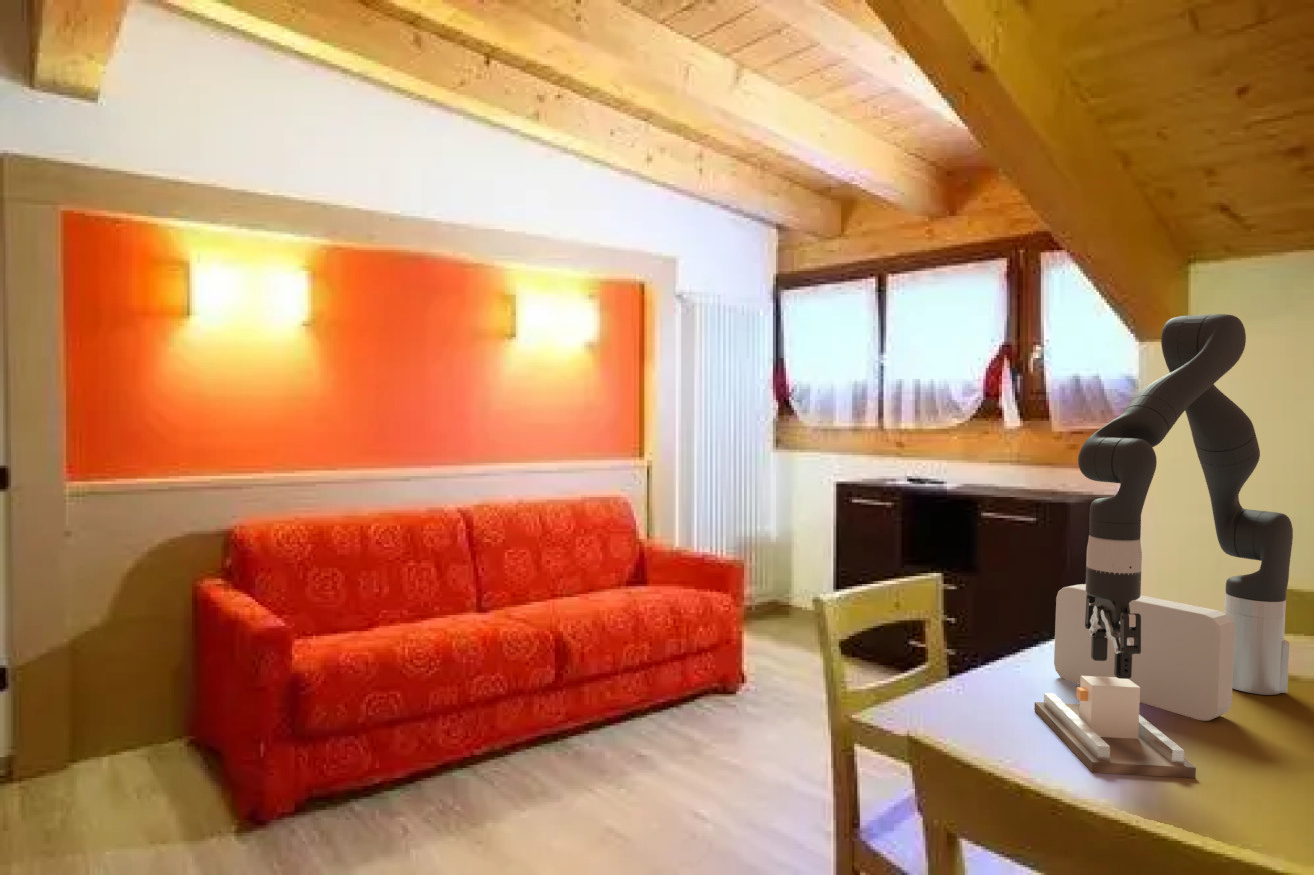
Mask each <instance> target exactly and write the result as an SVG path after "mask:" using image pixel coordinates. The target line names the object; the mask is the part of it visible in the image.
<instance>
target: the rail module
mask: <svg viewBox="0 0 1314 875" xmlns="http://www.w3.org/2000/svg"><path fill="white" fill-rule="evenodd" d="M1075 694H1076V696H1075V697H1076V698H1077V699H1078V700H1079V704H1080V707H1079V718H1080V719H1081V720H1083V721H1084V722H1085V723H1086V724H1087V725H1088V726H1089V727H1090V728H1091V729H1092V730H1093V731H1094V732H1095V733H1096V734H1097V735H1098V736H1099V737H1112V738H1131V739H1138V730H1139V715H1140V704H1141V703H1140V687H1139V686H1137V685H1136V684H1135V683H1133V682H1132V681H1131V680H1129V679H1119V678H1117V677H1098V676H1081V680H1080V684H1079V686H1076V693H1075Z"/></svg>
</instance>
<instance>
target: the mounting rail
mask: <svg viewBox="0 0 1314 875" xmlns="http://www.w3.org/2000/svg"><path fill="white" fill-rule="evenodd" d="M1043 702H1044V705H1045V706H1046V707H1047V708H1048V709H1049V710H1050V711H1051V712H1052V713H1053V714H1054V715H1055V716H1056V717H1057V718H1058V720H1059V721H1060V722H1061V723H1062V724H1063V725H1064V726H1065V727H1066V728H1067V729H1068V730H1069V731H1070V732H1071V733H1072V734H1073V735H1074V736H1075V737H1076V738H1077V739H1078V740H1079V741H1080V742H1081V743H1082V744H1083V745H1084V746H1085V747H1086V748H1087V749H1088V750H1089V751H1090V752H1091V753H1092V754H1093V755H1094V756H1095V757H1096V758H1097V759H1098V760H1110V746H1109V745H1108V744H1107V743H1106V742H1105V741H1104V740H1103V739H1102V738H1100V737H1099V736H1098V735H1097V734H1096V733H1095V732H1094V731H1093V730H1092V729H1091V728H1090V727H1089V726H1088V725H1087V724H1086V723H1085V722H1084V721H1083V720H1081V719H1080V718H1079V717H1078V716H1077V715H1076V714H1075V713H1074V712H1073V711H1072V710H1071V709H1070V708H1069V707H1068V706H1067V705H1066V704H1067V703H1066V704H1065V702H1064V701H1062V699H1061V698H1060V697H1058V696H1057V695H1056V694H1055V692H1053V693H1052V692H1044V693H1043ZM1138 735H1139V736H1140V737H1141V738H1142V739H1144V740H1145V741H1146V742H1147V743H1148V744H1150V745H1151V746H1152V747H1153V748H1154V749H1155V750H1157V751H1158V752H1159V753H1160V754H1161V755H1162V756H1164V757H1165V758H1166V759H1167V760H1168V761H1169V762H1171V763H1172V764H1184V758H1185V750H1184V749H1183V748H1182V747H1180V745H1178V744H1177V743H1176V742H1174V741H1173V740H1172V739H1171V738H1169V737H1168V735H1166V734H1165V733H1163V732H1162V731H1161V730H1160V729H1158V728H1157V727H1156V726H1154V725H1153V724H1152V723H1151V722H1149V721H1148V720H1147V719H1146V718H1144V717H1143V716H1142V715H1141V714H1139V730H1138Z"/></svg>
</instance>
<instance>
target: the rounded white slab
mask: <svg viewBox="0 0 1314 875" xmlns="http://www.w3.org/2000/svg"><path fill="white" fill-rule="evenodd" d="M1086 595H1087V592H1086V583H1084V584H1083V583H1081V584H1074V585H1069V586H1064V587H1062V588H1061V589H1059V590H1058V592H1057V595H1056V598H1055V602H1056V604H1055V605H1056V606H1055V623H1054V624H1055V626H1054V628H1055V629H1054V631H1055V632H1054V652H1053V653H1054V655H1053V658H1054V659H1053V665H1054V669H1055V672H1056V673H1057V674H1058V675H1059V677H1060V678H1061V679H1063V680H1065V681H1067V682H1070V683H1071V682H1072V683H1075V684H1077V683H1078V685H1080V680H1081V676H1098V677H1116V676H1115V675H1114V663H1115V649H1114V645H1113V641H1112V640H1110V639H1109V638H1108V636H1105V637H1106V638H1108V647H1107V660H1106V661H1095V660H1093V659H1092V658H1091V642H1092V636H1091V635H1090V633H1089V629H1086V628H1085V613H1086ZM1129 606H1130V612H1131V613H1139V614H1140V615H1141V653H1140V654H1134V655H1133V654H1132V676H1131V678H1129V680H1131V681H1132V682H1133V683H1135V684H1136V685H1137V686H1139V687H1140V704H1141V703H1142V704H1144V705H1148V706H1150V707H1151V706H1152V707H1154V708H1157V709H1161V710H1164V711H1168V712H1171V713H1175V714H1178V715H1181V716H1184V717H1187V718H1190V717H1191V719H1194V720H1198V721H1202V722H1204V721H1205V722H1208V721H1209V722H1210V721H1211V720H1213V719H1215V718H1216V719H1217V718H1219V717H1221V716H1223V715H1224V714H1227V713H1228V712H1229V711H1230V710H1231V706H1232V704H1233V703H1232V702H1233V701H1232V700H1233V688H1232V684H1233V662H1234V640H1235V628H1234V623H1233V621H1232V620H1231V618H1230V617H1229V616H1228V615H1227V614H1225V612H1223V611H1221V610H1219V609H1213V608H1207V607H1202V606H1197V605H1193V604H1192V605H1191V604H1188V603H1183V602H1176V601H1172V600H1167V599H1162V598H1156V597H1151V596H1148V595H1147V596H1146V595H1142V594H1141V595H1140V598H1139V599H1137V600H1132V601H1131V602H1130V603H1129ZM1091 617H1092V616H1091ZM1132 640H1133V644H1134V638H1133V639H1132ZM1119 642H1120V640H1119Z"/></svg>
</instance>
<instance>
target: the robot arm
mask: <svg viewBox="0 0 1314 875" xmlns="http://www.w3.org/2000/svg"><path fill="white" fill-rule="evenodd" d="M1160 338H1161V339H1160V344H1161V351H1162V355H1163V359H1164V361H1165V364H1166V367H1167V369H1168V371H1169V373H1166V374H1165V375H1163V376H1161V377H1159V378H1158V379H1155V381H1153V382H1151V383H1149V384H1148V385H1146V386H1145V387H1144V388H1143V389H1141V390H1140V391H1139V392H1138V393H1137V394H1135V395H1134V397H1133V399H1132V400H1131V401H1130V402H1129V403H1128V405H1127V406H1126V407H1125V409H1124V410H1123V411H1122V413H1120V415H1119V416H1118V417H1115V418H1114V419H1111V420H1110V421H1109V422H1108V423H1106V424H1105V425H1103V426H1102V427H1101V428H1099V429H1098V430H1097V431H1095V432H1094V433H1092V435H1090V436H1089V437H1088V438H1087V439H1086V440H1085V442H1084V443H1083V444H1082V446H1081V447H1080V450H1079V454H1078V458H1077V462H1078V463H1077V464H1078V468H1079V470H1080V473H1082V474H1083V476H1084V477H1086V478H1087V479H1088V480H1090V481H1096V482H1101V483H1102V482H1103V483H1111V484H1120V485H1119V488H1118V491H1117V492H1116V494H1114V496H1107V497H1100V498H1096V499H1094V500H1092V502H1090V503H1091V504H1090V505H1089V506H1090V507H1089V524H1088V528H1089V529H1088V532H1089V533H1088V541H1087V546H1086V566H1085V584H1086V592H1087V595H1086V613H1085V628H1086V629H1089V633H1090V635H1091V636H1092V642H1091V658H1092V659H1093V660H1095V661H1106V660H1107V647H1108V638H1109V639H1110V640H1112V641H1113V645H1114V649H1115V663H1114V675H1115V676H1116V677H1117V678H1119V679H1129V678H1131V676H1132V654H1133V655H1134V654H1140V653H1141V615H1140V614H1139V613H1131V612H1130V606H1129V603H1130V602H1131V601H1132V600H1137V599H1139V598H1140V595H1142V594H1141V593H1142V592H1141V590H1142V563H1143V562H1142V558H1143V556H1142V555H1143V554H1142V553H1143V552H1142V551H1143V550H1142V543H1141V534H1142V533H1141V531H1142V512H1143V509H1144V505H1145V503H1146V499H1147V496H1148V493H1149V490H1150V487H1151V484H1152V481H1153V479H1154V476H1155V473H1156V469H1157V465H1158V464H1157V455H1156V451H1155V449H1154V447H1157V445H1160V443H1162V441H1163V440H1164V439H1165V438H1166V436H1167V435H1168V433H1169V432H1170V431H1171V430H1172V428H1173V426H1175V424H1176V423H1177V421H1178V419H1179V418H1180V417H1181V416H1182V415H1183V414H1184V412H1185V415H1186V419H1187V421H1188V423H1189V424H1188V425H1189V428H1190V432H1191V435H1192V440H1193V444H1194V448H1195V451H1196V453H1197V457H1198V458H1197V459H1198V460H1199V463H1200V466H1201V469H1202V473H1203V476H1204V478H1205V483H1206V485H1207V487H1206V488H1207V490H1208V494H1209V498H1210V502H1211V510H1212V516H1213V521H1214V526H1215V533H1216V537H1217V541H1218V545H1219V546H1220V548H1221V550H1222V551H1223V552H1224V553H1225V554H1227V555H1229V556H1230V557H1235V558H1239V559H1247V560H1253V561H1254V560H1255V561H1261V562H1260V566H1259V569H1258V570H1257V571H1254V572H1252V573H1247V574H1241V575H1240V574H1239V575H1235V576H1231V577H1229V578H1227V579H1226V582H1225V593H1224V594H1225V595H1224V596H1225V598H1224V613H1225V614H1227V615H1228V616H1229V617H1230V618H1231V620H1232V621H1233V623H1234V628H1235V640H1234V662H1233V684H1232V690H1236V691H1241V692H1245V693H1249V694H1255V695H1264V696H1266V695H1267V696H1273V695H1280V694H1287V693H1288V684H1289V682H1288V681H1289V665H1290V664H1289V660H1290V659H1289V658H1290V641H1288V640H1286V639H1285V630H1286V628H1285V627H1286V607H1287V606H1286V604H1287V590H1288V585H1289V578H1290V564H1291V557H1292V548H1293V538H1294V536H1293V535H1294V530H1293V523H1292V521H1291V519H1290V517H1289V516H1288V515H1287V514H1285V513H1282V512H1276V511H1267V510H1258V509H1257V510H1256V509H1247V508H1243V507H1242V505H1241V503H1240V498H1239V496H1240V495H1239V494H1240V492H1241V491H1242V488H1243V486H1244V485H1245V484H1246V482H1247V481H1248V480H1249V479H1250V477H1251V476H1252V474H1253V473H1254V471H1255V470H1256V468H1257V465H1258V463H1259V461H1260V457H1261V450H1260V446H1259V442H1258V438H1257V434H1256V431H1255V430H1256V429H1255V427H1254V424H1253V422H1252V420H1251V419H1250V417H1249V416H1248V415H1247V414H1246V413H1245V411H1243V409H1241V407H1240V406H1238V404H1236V403H1235V402H1234V401H1233V400H1232V399H1230V398H1229V397H1228V396H1227V395H1225V393H1223V391H1221V390H1220V389H1219V388H1218V387H1217V386H1216V385H1215V384H1216V383H1217V382H1218V381H1219V380H1221V378H1223V376H1224V375H1226V374H1227V373H1228V372H1229V371H1230V370H1232V369H1233V367H1234V366H1236V364H1237V363H1238V362H1239V361H1240V359H1241V357H1242V356H1243V353H1244V352H1245V347H1246V341H1247V334H1246V329H1245V326H1244V323H1243V322H1242V321H1241V319H1240V318H1239V317H1237V316H1236V315H1233V314H1226V313H1215V314H1211V313H1210V314H1195V315H1194V314H1193V315H1181V316H1175V317H1172V318H1170V319H1168V320H1167V321H1166V322H1165V324H1164V325H1163V327H1162V330H1161V337H1160ZM1091 616H1092V617H1091ZM1105 636H1108V638H1106V637H1105ZM1133 638H1134V644H1133V640H1132V639H1133ZM1119 640H1120V642H1119Z"/></svg>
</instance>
